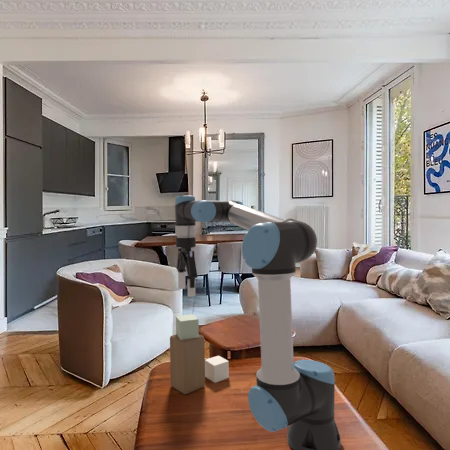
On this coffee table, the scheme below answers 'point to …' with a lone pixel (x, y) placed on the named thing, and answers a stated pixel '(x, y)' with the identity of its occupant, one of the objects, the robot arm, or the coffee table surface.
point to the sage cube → (187, 326)
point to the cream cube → (216, 369)
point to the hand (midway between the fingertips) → (186, 292)
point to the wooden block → (187, 363)
